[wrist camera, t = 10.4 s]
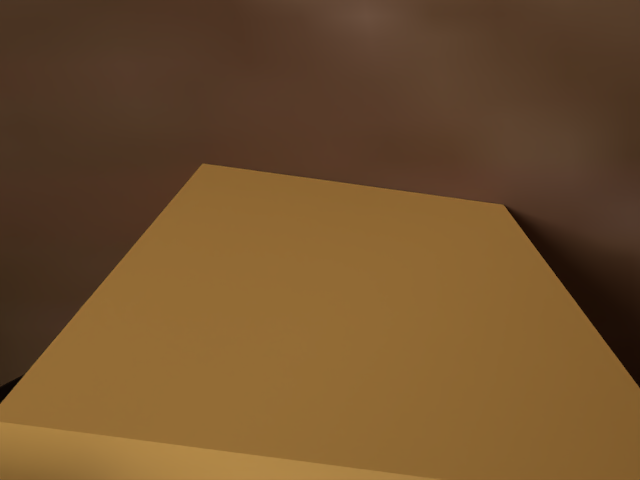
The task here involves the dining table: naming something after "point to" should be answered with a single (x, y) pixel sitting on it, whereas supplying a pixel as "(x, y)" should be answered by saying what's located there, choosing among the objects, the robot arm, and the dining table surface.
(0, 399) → the robot arm
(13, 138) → the dining table surface
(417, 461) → the cap
